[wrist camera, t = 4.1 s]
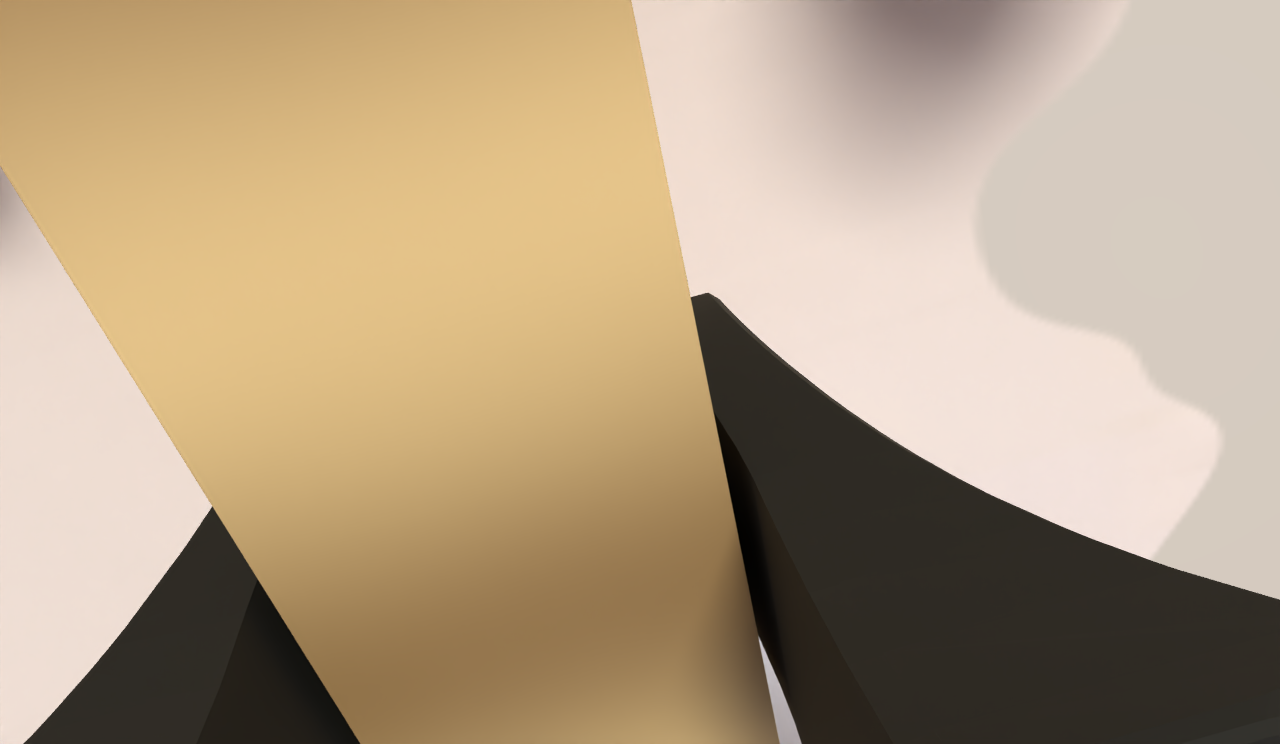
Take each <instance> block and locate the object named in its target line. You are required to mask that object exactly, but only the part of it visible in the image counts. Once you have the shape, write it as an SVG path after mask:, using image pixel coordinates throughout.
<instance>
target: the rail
mask: <svg viewBox="0 0 1280 744" xmlns="http://www.w3.org/2000/svg"><path fill="white" fill-rule="evenodd" d="M0 166H1V168H2V169H3V171H4V173H5V174H6V176H7V177H8V179H9V181H10V182H11V184H12V185H13V187H14V189H15V190H16V192H17V193H18V195H19V197H20V198H21V200H22V202H23V203H24V205H25V206H26V208H27V210H28V211H29V213H30V214H31V216H32V218H33V219H34V221H35V222H36V224H37V226H38V227H39V229H40V230H41V232H42V234H43V235H44V237H45V238H46V240H47V242H48V243H49V245H50V246H51V248H52V250H53V251H54V253H55V254H56V256H57V258H58V259H59V261H60V262H61V264H62V266H63V267H64V269H65V270H66V272H67V274H68V275H69V277H70V279H71V280H72V282H73V283H74V285H75V287H76V288H77V290H78V291H79V293H80V295H81V296H82V298H83V299H84V301H85V303H86V304H87V306H88V307H89V309H90V311H91V312H92V314H93V315H94V317H95V319H96V320H97V322H98V323H99V325H100V327H101V328H102V330H103V331H104V333H105V335H106V336H107V338H108V339H109V341H110V343H111V344H112V346H113V348H114V349H115V351H116V352H117V354H118V356H119V357H120V359H121V360H122V362H123V364H124V365H125V367H126V368H127V370H128V372H129V373H130V375H131V376H132V378H133V380H134V381H135V383H136V384H137V386H138V388H139V389H140V391H141V392H142V394H143V396H144V397H145V399H146V400H147V402H148V404H149V405H150V407H151V408H152V410H153V412H154V413H155V415H156V416H157V418H158V420H159V421H160V423H161V425H162V426H163V428H164V429H165V431H166V433H167V434H168V436H169V437H170V439H171V441H172V442H173V444H174V445H175V447H176V449H177V450H178V452H179V453H180V455H181V457H182V458H183V460H184V461H185V463H186V465H187V466H188V468H189V469H190V471H191V473H192V474H193V476H194V477H195V479H196V481H197V482H198V484H199V485H200V487H201V489H202V490H203V492H204V493H205V495H206V497H207V498H208V500H209V502H210V503H211V505H212V506H213V508H214V510H215V511H216V513H217V514H218V516H219V518H220V519H221V521H222V522H223V524H224V526H225V527H226V529H227V530H228V532H229V534H230V535H231V537H232V538H233V540H234V542H235V543H236V545H237V546H238V548H239V550H240V551H241V553H242V554H243V556H244V558H245V559H246V561H247V562H248V564H249V566H250V567H251V569H252V571H253V572H254V574H255V575H256V577H257V579H258V580H259V582H260V583H261V585H262V587H263V588H264V590H265V591H266V593H267V595H268V596H269V598H270V599H271V601H272V603H273V604H274V606H275V607H276V609H277V611H278V612H279V614H280V615H281V617H282V619H283V620H284V622H285V623H286V625H287V627H288V628H289V630H290V631H291V633H292V635H293V636H294V638H295V640H296V641H297V643H298V644H299V646H300V648H301V649H302V651H303V652H304V654H305V656H306V657H307V659H308V660H309V662H310V664H311V665H312V667H313V668H314V670H315V672H316V673H317V675H318V676H319V678H320V680H321V681H322V683H323V684H324V686H325V688H326V689H327V691H328V692H329V694H330V696H331V697H332V699H333V700H334V702H335V704H336V705H337V707H338V708H339V710H340V712H341V713H342V715H343V717H344V718H345V720H346V721H347V723H348V725H349V726H350V728H351V729H352V731H353V733H354V734H355V736H356V737H357V739H358V741H359V742H360V744H780V742H779V737H778V732H777V727H776V722H775V717H774V712H773V707H772V702H771V697H770V692H769V687H768V682H767V677H766V672H765V667H764V662H763V657H762V652H761V647H760V642H759V637H758V632H757V627H756V622H755V617H754V612H753V607H752V602H751V597H750V592H749V587H748V582H747V577H746V572H745V567H744V562H743V557H742V552H741V547H740V542H739V537H738V532H737V527H736V522H735V517H734V512H733V507H732V502H731V497H730V492H729V487H728V482H727V477H726V472H725V467H724V462H723V457H722V452H721V447H720V442H719V437H718V432H717V427H716V422H715V417H714V412H713V407H712V402H711V397H710V392H709V387H708V382H707V377H706V372H705V367H704V362H703V357H702V352H701V347H700V342H699V337H698V332H697V327H696V322H695V317H694V312H693V307H692V302H691V297H690V292H689V287H688V282H687V277H686V272H685V267H684V262H683V257H682V252H681V247H680V242H679V237H678V232H677V227H676V222H675V217H674V212H673V207H672V202H671V197H670V192H669V187H668V182H667V177H666V172H665V167H664V162H663V157H662V152H661V147H660V142H659V137H658V132H657V127H656V122H655V117H654V112H653V107H652V102H651V97H650V92H649V87H648V82H647V77H646V72H645V67H644V62H643V57H642V52H641V47H640V42H639V37H638V32H637V27H636V22H635V17H634V12H633V7H632V2H631V0H0Z"/></svg>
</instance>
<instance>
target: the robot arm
mask: <svg viewBox="0 0 1280 744" xmlns="http://www.w3.org/2000/svg"><path fill="white" fill-rule="evenodd" d="M691 302H692V307H693V312H694V317H695V322H696V327H697V332H698V337H699V342H700V347H701V352H702V357H703V362H704V367H705V372H706V377H707V382H708V387H709V392H710V397H711V402H712V407H713V412H714V417H715V422H716V427H717V432H718V437H719V442H720V447H721V452H722V457H723V462H724V467H725V472H726V477H727V482H728V487H729V492H730V497H731V502H732V507H733V512H734V517H735V522H736V527H737V532H738V537H739V542H740V547H741V552H742V557H743V562H744V567H745V572H746V577H747V582H748V587H749V592H750V597H751V602H752V607H753V612H754V617H755V622H756V627H757V632H758V637H759V642H760V647H761V652H762V657H763V662H764V667H765V672H766V677H767V682H768V687H769V692H770V697H771V702H772V707H773V712H774V717H775V722H776V727H777V732H778V737H779V742H780V744H1280V600H1279V599H1275V598H1272V597H1268V596H1265V595H1262V594H1258V593H1255V592H1252V591H1248V590H1245V589H1241V588H1238V587H1235V586H1231V585H1228V584H1224V583H1221V582H1217V581H1214V580H1211V579H1208V578H1204V577H1201V576H1197V575H1194V574H1191V573H1187V572H1184V571H1180V570H1177V569H1174V568H1171V567H1168V566H1165V565H1162V564H1159V563H1157V562H1153V561H1151V560H1148V559H1146V558H1143V557H1140V556H1137V555H1135V554H1132V553H1129V552H1126V551H1124V550H1121V549H1118V548H1115V547H1113V546H1110V545H1107V544H1104V543H1102V542H1099V541H1096V540H1093V539H1091V538H1088V537H1086V536H1083V535H1081V534H1078V533H1076V532H1073V531H1071V530H1068V529H1066V528H1064V527H1061V526H1059V525H1057V524H1055V523H1052V522H1050V521H1048V520H1046V519H1043V518H1041V517H1039V516H1037V515H1034V514H1032V513H1030V512H1028V511H1025V510H1023V509H1021V508H1019V507H1016V506H1014V505H1012V504H1010V503H1007V502H1005V501H1003V500H1001V499H998V498H996V497H994V496H992V495H990V494H988V493H986V492H984V491H982V490H980V489H978V488H976V487H974V486H972V485H970V484H968V483H966V482H964V481H962V480H961V479H959V478H957V477H955V476H953V475H951V474H949V473H948V472H946V471H944V470H942V469H941V468H939V467H937V466H935V465H934V464H932V463H930V462H928V461H926V460H925V459H923V458H921V457H919V456H918V455H916V454H914V453H913V452H911V451H910V450H908V449H906V448H905V447H903V446H901V445H900V444H898V443H897V442H895V441H893V440H892V439H890V438H889V437H887V436H886V435H884V434H883V433H881V432H879V431H878V430H877V429H875V428H874V427H872V426H871V425H869V424H868V423H866V422H865V421H863V420H862V419H860V418H859V417H858V416H856V415H855V414H853V413H852V412H850V411H849V410H847V409H846V408H845V407H843V406H842V405H841V404H839V403H838V402H836V401H835V400H834V399H832V398H831V397H830V396H828V395H827V394H826V393H824V392H823V391H822V390H820V389H819V388H818V387H817V386H815V385H814V384H813V383H812V382H810V381H809V380H808V379H807V378H805V377H804V376H803V375H802V374H800V373H799V372H798V371H796V370H795V369H794V368H793V367H791V366H790V365H789V364H788V363H787V362H785V361H784V360H783V359H782V358H781V357H779V356H778V355H777V354H776V353H775V352H774V351H772V350H771V349H770V348H769V347H768V346H767V345H766V344H765V343H764V342H762V341H761V340H760V339H759V338H758V337H757V336H756V335H755V334H754V333H752V332H751V331H750V330H749V329H748V328H747V327H746V326H745V325H744V324H743V323H742V322H741V321H740V320H739V319H738V318H737V317H736V316H735V315H734V314H733V313H732V312H731V311H730V310H729V309H728V308H727V307H726V306H725V305H724V304H723V303H722V302H721V300H720V299H718V298H716V297H715V296H713V295H711V294H710V293H705V294H701V295H698V296H694V297H691ZM24 744H360V742H359V741H358V739H357V737H356V736H355V734H354V733H353V731H352V729H351V728H350V726H349V725H348V723H347V721H346V720H345V718H344V717H343V715H342V713H341V712H340V710H339V708H338V707H337V705H336V704H335V702H334V700H333V699H332V697H331V696H330V694H329V692H328V691H327V689H326V688H325V686H324V684H323V683H322V681H321V680H320V678H319V676H318V675H317V673H316V672H315V670H314V668H313V667H312V665H311V664H310V662H309V660H308V659H307V657H306V656H305V654H304V652H303V651H302V649H301V648H300V646H299V644H298V643H297V641H296V640H295V638H294V636H293V635H292V633H291V631H290V630H289V628H288V627H287V625H286V623H285V622H284V620H283V619H282V617H281V615H280V614H279V612H278V611H277V609H276V607H275V606H274V604H273V603H272V601H271V599H270V598H269V596H268V595H267V593H266V591H265V590H264V588H263V587H262V585H261V583H260V582H259V580H258V579H257V577H256V575H255V574H254V572H253V571H252V569H251V567H250V566H249V564H248V562H247V561H246V559H245V558H244V556H243V554H242V553H241V551H240V550H239V548H238V546H237V545H236V543H235V542H234V540H233V538H232V537H231V535H230V534H229V532H228V530H227V529H226V527H225V526H224V524H223V522H222V521H221V519H220V518H219V516H218V514H217V513H216V511H215V510H214V508H213V506H212V508H211V509H210V511H209V512H208V514H207V515H206V517H205V518H204V520H203V521H202V523H201V524H200V526H199V527H198V529H197V530H196V532H195V533H194V535H193V536H192V538H191V539H190V541H189V542H188V544H187V545H186V547H185V548H184V549H183V551H182V552H181V554H180V555H179V556H178V558H177V559H176V560H175V562H174V563H173V564H172V566H171V567H170V568H169V570H168V571H167V572H166V574H165V575H164V576H163V578H162V579H161V580H160V582H159V583H158V584H157V586H156V587H155V589H154V590H153V591H152V593H151V594H150V595H149V597H148V598H147V599H146V601H145V602H144V603H143V605H142V606H141V607H140V609H139V610H138V611H137V613H136V614H135V615H134V617H133V618H132V619H131V621H130V622H129V624H128V625H127V626H126V628H125V629H124V630H123V631H122V632H121V634H120V635H119V636H118V637H117V639H116V640H115V641H114V642H113V644H112V645H111V646H110V647H109V649H108V650H107V651H106V652H105V653H104V655H103V656H102V657H101V658H100V659H99V661H98V662H97V663H96V664H95V665H94V667H93V668H92V669H91V670H90V671H89V672H88V674H87V675H86V676H85V677H84V678H83V679H82V680H81V682H80V683H79V684H78V685H77V686H76V687H75V688H74V689H73V691H72V692H71V693H70V694H69V695H68V696H67V697H66V698H65V700H64V701H63V702H62V703H61V704H60V705H59V706H58V708H57V709H56V710H55V711H54V712H53V713H52V714H51V715H50V717H49V718H48V719H47V720H46V721H45V722H44V723H43V724H42V725H41V726H40V727H39V728H38V729H37V730H36V732H35V733H34V734H33V735H32V736H31V737H30V738H29V739H28V740H27V741H26V742H25V743H24Z"/></svg>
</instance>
